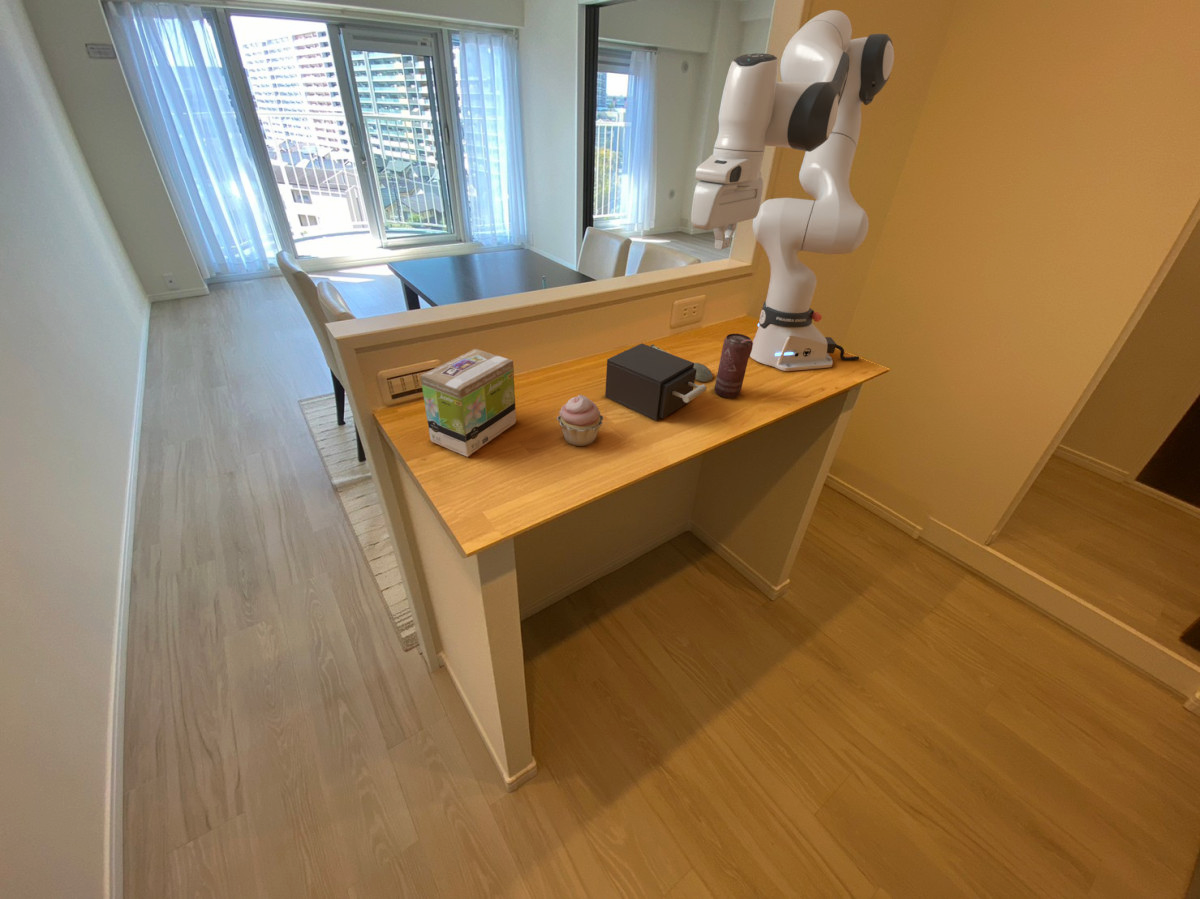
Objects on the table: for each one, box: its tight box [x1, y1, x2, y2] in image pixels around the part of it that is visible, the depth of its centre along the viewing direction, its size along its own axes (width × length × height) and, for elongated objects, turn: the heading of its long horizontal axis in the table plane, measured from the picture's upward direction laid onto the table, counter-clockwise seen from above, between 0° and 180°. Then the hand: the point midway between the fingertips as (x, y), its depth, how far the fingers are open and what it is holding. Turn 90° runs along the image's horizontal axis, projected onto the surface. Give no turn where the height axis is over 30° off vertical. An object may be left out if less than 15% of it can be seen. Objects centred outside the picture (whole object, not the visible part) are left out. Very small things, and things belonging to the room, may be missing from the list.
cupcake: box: [556, 394, 604, 447], centre depth 96 cm, size 9×9×10 cm
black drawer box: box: [604, 343, 695, 422], centre depth 111 cm, size 15×13×10 cm
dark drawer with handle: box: [658, 368, 707, 419], centre depth 109 cm, size 18×11×8 cm, turn 49°
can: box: [714, 333, 753, 400], centre depth 113 cm, size 6×6×14 cm
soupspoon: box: [649, 344, 714, 383], centre depth 128 cm, size 22×3×7 cm
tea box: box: [420, 348, 517, 458], centre depth 95 cm, size 15×10×15 cm, turn 151°
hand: (721, 248), depth 97 cm, fingers closed
